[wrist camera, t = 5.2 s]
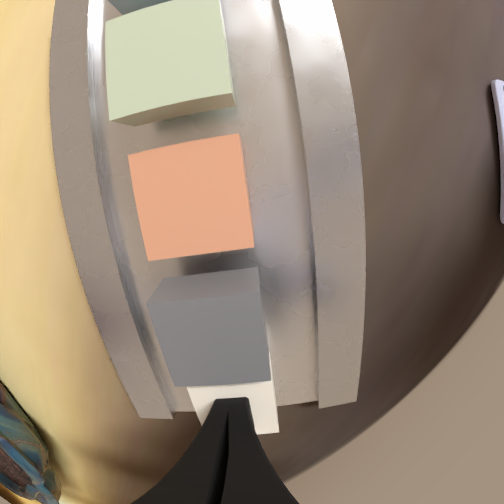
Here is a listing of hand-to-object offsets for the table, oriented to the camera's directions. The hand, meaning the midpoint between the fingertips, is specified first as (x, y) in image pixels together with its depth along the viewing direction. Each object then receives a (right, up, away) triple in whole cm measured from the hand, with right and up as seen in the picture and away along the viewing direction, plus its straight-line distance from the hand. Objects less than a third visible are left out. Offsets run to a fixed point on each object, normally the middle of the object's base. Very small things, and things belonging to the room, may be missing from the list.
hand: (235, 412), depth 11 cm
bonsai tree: (-31, -7, +6) cm, 32 cm away
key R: (-1, +4, 0) cm, 4 cm away
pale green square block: (-2, +13, -3) cm, 13 cm away
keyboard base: (-1, +9, 0) cm, 9 cm away
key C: (-1, +9, -1) cm, 9 cm away
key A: (0, +1, +2) cm, 2 cm away
